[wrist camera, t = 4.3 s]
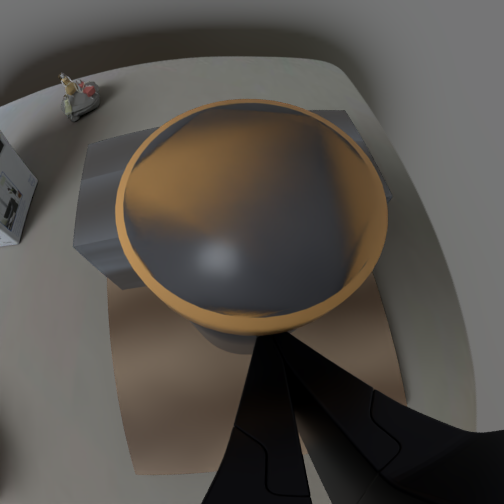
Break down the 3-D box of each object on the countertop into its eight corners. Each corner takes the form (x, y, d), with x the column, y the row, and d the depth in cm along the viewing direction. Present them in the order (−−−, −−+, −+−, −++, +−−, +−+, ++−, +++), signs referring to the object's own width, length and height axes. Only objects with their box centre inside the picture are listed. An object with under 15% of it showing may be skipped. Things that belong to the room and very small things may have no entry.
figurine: (82, 93, 25) (64, 58, 19) (112, 91, 25) (95, 52, 19) (61, 128, 24) (36, 93, 18) (91, 128, 24) (67, 89, 18)
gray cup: (316, 343, 15) (425, 288, 6) (195, 367, 14) (118, 351, 5) (288, 236, 17) (331, 95, 8) (179, 254, 16) (125, 118, 7)
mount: (400, 414, 14) (475, 421, 8) (141, 469, 12) (88, 512, 6) (326, 171, 21) (352, 100, 15) (114, 203, 19) (76, 137, 13)
